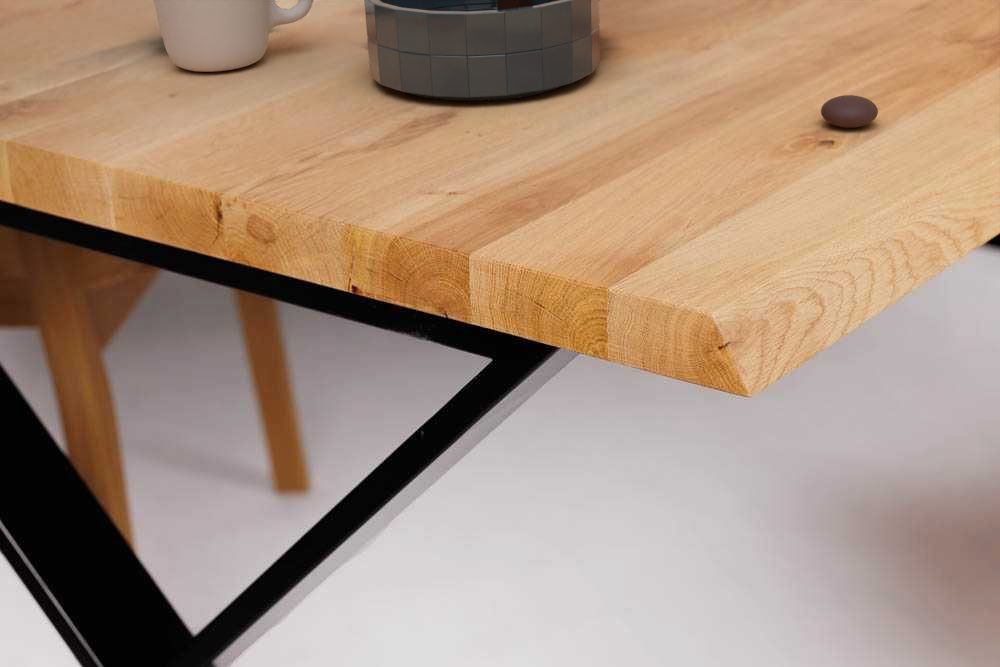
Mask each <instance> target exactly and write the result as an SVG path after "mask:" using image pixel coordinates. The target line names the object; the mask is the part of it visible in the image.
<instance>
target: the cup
mask: <svg viewBox="0 0 1000 667" xmlns="http://www.w3.org/2000/svg"><path fill="white" fill-rule="evenodd" d="M313 3H314V0H297V2H296V3H295V5H293V6H292V7H290V8H282V7H280V6H279V5H278V4H277V3H276V1H275V0H153V4H154V10H155V13H156V16H157V22H158V26H159V30H160V34H161V37H162V41H163V45H164V48H165V50H166V52H167V55H168V57H169V59H170V61H171V62H172V63H173V64H174V65H175V66H177V67H179V68H181V69H183V70H187V71H193V72H202V73H203V72H206V73H207V72H208V73H209V72H212V73H213V72H223V71H231V70H237V69H240V68H241V69H242V68H244V67H245V68H246V67H248V66H250V65H253V64H255V63H257V62H258V61H260V60H261V59H262V58H263V57H264V55H265V54H266V52H267V49H268V44H269V37H270V36H269V35H270V32H271V30H272V29H274V28H275V27H278V26H282V25H288V24H289V25H290V24H292V23H295V22H298V21H300V20H302V19H303V18H305V17H306V16H307V15H308V14H309V13H310V10H311V8H312V6H313Z"/></svg>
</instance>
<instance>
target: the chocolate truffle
mask: <svg viewBox="0 0 1000 667" xmlns="http://www.w3.org/2000/svg"><path fill="white" fill-rule="evenodd" d="M820 108H821V109H820V115H821V117H822V119H824V120H825V121H826V123H829V124H830V125H832V126H835V127H839V128H845V129H846V128H848V129H852V128H855V129H856V128H860V127H864V126H867V125H869V124H871V123H872V122H873V121H875V119H876V118H877V116H878V114H879V109H878V107H877V105H876V103H874V102H873V101H872V100H870V99H869V98H866V97H863V96H860V95H854V94H853V95H852V94H844V95H839V96H835V97H832V98H830V99H828V100H826V102H824V103H823V105H822V106H821V107H820Z"/></svg>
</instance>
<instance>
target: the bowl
mask: <svg viewBox="0 0 1000 667" xmlns="http://www.w3.org/2000/svg"><path fill="white" fill-rule="evenodd" d="M363 1H364V14H365V27H366V36H367V37H366V38H367V50H368V62H369V63H368V64H369V75H370V77H371V78H372V79H374V81H376V82H377V83H378V84H379V85H381V86H383V87H387V88H390V89H393V90H395V91H399V92H403V93H407V94H409V95H413V96H418V97H422V98H427V99H432V100H433V99H434V100H441V101H454V102H455V101H456V102H483V101H485V102H487V101H500V100H501V101H502V100H509V99H510V100H511V99H518V98H523V97H529V96H530V97H531V96H534V95H539V94H543V93H547V92H550V91H554V90H556V89H559V88H561V87H564V86H565V85H566V86H567V85H570V84H573V83H575V82H577V81H579V80H581V79H583V78H586V77H587V76H590V75H592V74H593V72H594V71H595V70H596V69H597V68H598V66H600V62H601V61H600V60H601V59H600V56H601V55H600V54H601V53H600V0H533V6H529V7H521V8H513V9H505V10H498V9H497V0H363Z"/></svg>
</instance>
